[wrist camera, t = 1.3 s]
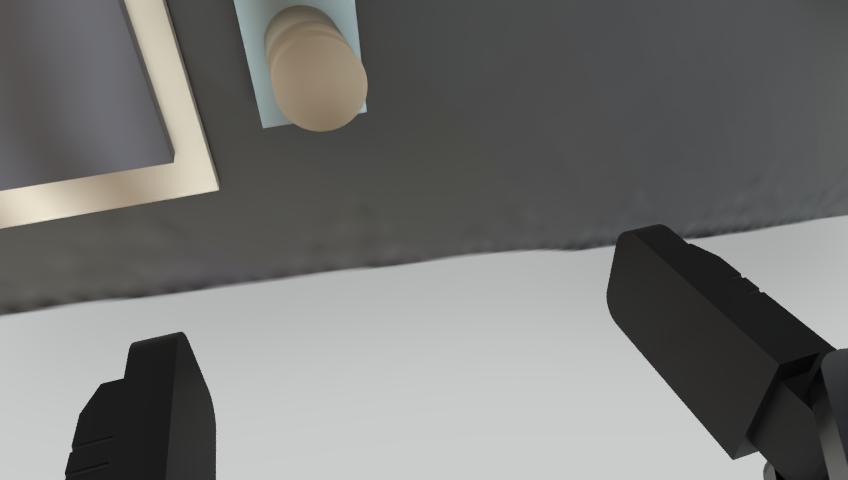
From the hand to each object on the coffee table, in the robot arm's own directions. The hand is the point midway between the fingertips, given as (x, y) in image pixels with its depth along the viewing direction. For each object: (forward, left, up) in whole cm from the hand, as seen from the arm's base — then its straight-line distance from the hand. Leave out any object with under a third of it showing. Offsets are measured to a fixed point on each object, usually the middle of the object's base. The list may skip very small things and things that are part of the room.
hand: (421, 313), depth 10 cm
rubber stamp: (0, 0, -22) cm, 22 cm away
